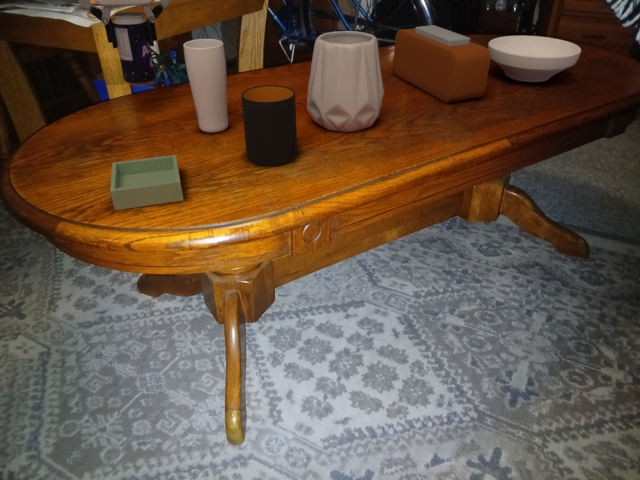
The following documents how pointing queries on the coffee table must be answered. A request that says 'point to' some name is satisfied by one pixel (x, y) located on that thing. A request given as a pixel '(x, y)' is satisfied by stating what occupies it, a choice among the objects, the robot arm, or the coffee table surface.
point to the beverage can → (134, 48)
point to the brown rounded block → (441, 62)
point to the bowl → (532, 56)
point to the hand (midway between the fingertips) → (133, 44)
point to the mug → (270, 124)
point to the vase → (345, 81)
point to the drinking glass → (208, 82)
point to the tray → (145, 182)
